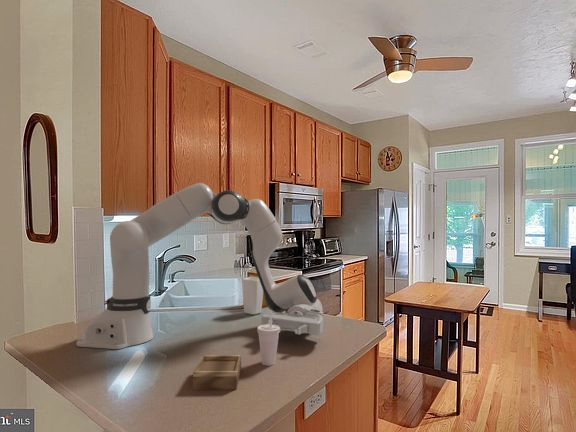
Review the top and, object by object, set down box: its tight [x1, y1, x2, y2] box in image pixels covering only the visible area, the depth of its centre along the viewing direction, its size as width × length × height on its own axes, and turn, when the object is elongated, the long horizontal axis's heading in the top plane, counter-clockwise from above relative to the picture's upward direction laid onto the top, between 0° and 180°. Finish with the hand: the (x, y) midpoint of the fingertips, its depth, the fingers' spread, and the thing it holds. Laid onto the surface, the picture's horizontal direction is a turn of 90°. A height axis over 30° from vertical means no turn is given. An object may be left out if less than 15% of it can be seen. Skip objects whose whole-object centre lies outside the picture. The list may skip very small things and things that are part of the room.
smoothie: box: [256, 311, 281, 367], centre depth 94 cm, size 6×6×14 cm
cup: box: [242, 277, 263, 316], centre depth 146 cm, size 7×7×15 cm
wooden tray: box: [192, 354, 242, 391], centre depth 84 cm, size 10×10×4 cm
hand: (282, 329), depth 103 cm, fingers open, 8 cm apart
